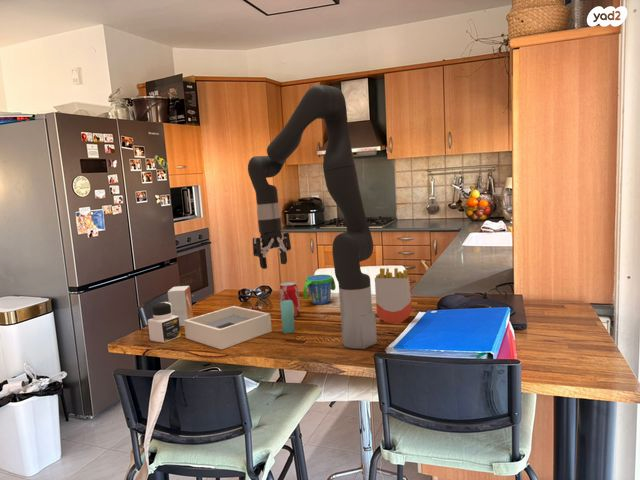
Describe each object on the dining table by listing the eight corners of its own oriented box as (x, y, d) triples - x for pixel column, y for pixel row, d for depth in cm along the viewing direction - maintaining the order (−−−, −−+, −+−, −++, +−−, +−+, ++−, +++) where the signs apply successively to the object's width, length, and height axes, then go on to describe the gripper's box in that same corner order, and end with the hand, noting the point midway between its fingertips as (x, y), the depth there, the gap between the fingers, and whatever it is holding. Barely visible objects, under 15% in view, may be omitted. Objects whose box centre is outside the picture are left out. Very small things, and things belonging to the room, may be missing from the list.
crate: (271, 331, 164) (270, 313, 164) (221, 349, 150) (219, 330, 149) (235, 322, 178) (233, 305, 177) (185, 338, 164) (183, 320, 163)
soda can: (297, 318, 177) (295, 285, 176) (278, 318, 179) (275, 285, 177) (302, 312, 184) (299, 281, 182) (283, 313, 185) (281, 281, 184)
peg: (297, 330, 163) (294, 300, 162) (288, 334, 160) (285, 303, 159) (289, 328, 166) (286, 299, 164) (280, 332, 163) (277, 302, 162)
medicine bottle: (164, 343, 160) (160, 307, 159) (149, 340, 164) (145, 305, 163) (181, 336, 166) (177, 301, 165) (166, 334, 170) (162, 299, 169)
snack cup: (312, 309, 188) (310, 282, 187) (296, 304, 196) (294, 279, 195) (344, 300, 197) (342, 275, 196) (328, 296, 206) (326, 272, 204)
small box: (188, 325, 178) (184, 290, 176) (171, 327, 178) (166, 291, 176) (193, 319, 186) (190, 285, 185) (176, 320, 186) (172, 286, 184)
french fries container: (380, 317, 170) (377, 266, 168) (412, 318, 167) (409, 265, 164) (377, 321, 166) (374, 268, 164) (409, 323, 162) (407, 268, 160)
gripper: (259, 219, 155) (264, 271, 157) (292, 214, 166) (297, 262, 167) (244, 220, 161) (250, 269, 163) (277, 215, 171) (282, 262, 173)
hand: (274, 266), depth 165 cm, fingers open, 8 cm apart
